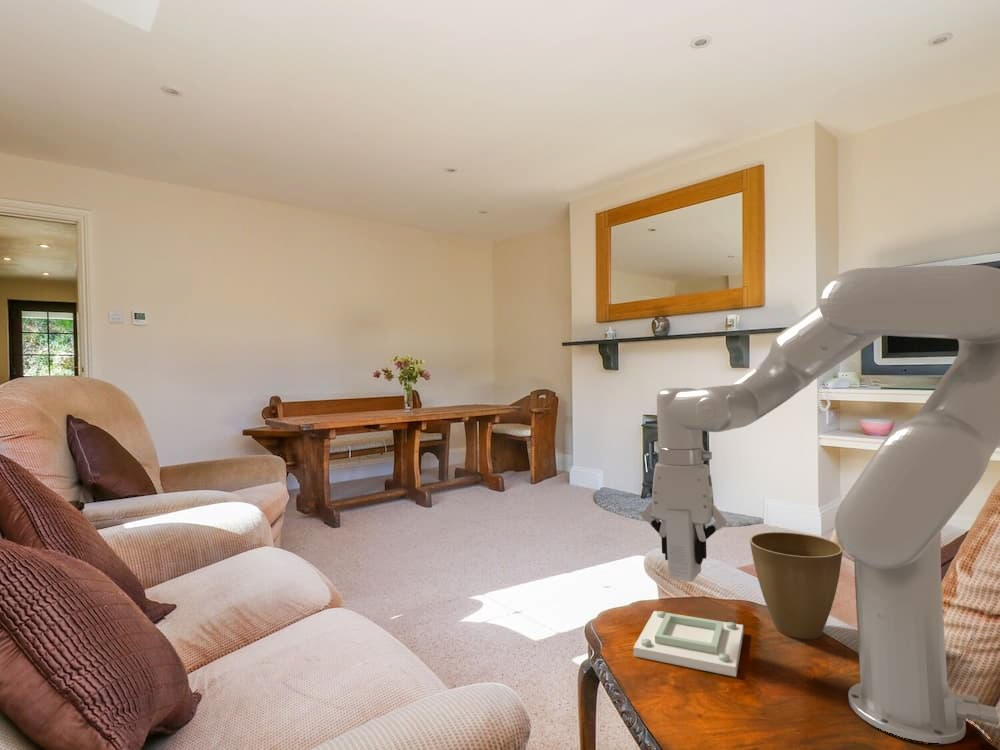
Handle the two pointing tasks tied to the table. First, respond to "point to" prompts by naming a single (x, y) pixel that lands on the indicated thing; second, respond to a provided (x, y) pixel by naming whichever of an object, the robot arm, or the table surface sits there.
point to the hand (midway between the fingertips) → (684, 558)
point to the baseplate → (691, 642)
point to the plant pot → (797, 580)
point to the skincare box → (681, 546)
